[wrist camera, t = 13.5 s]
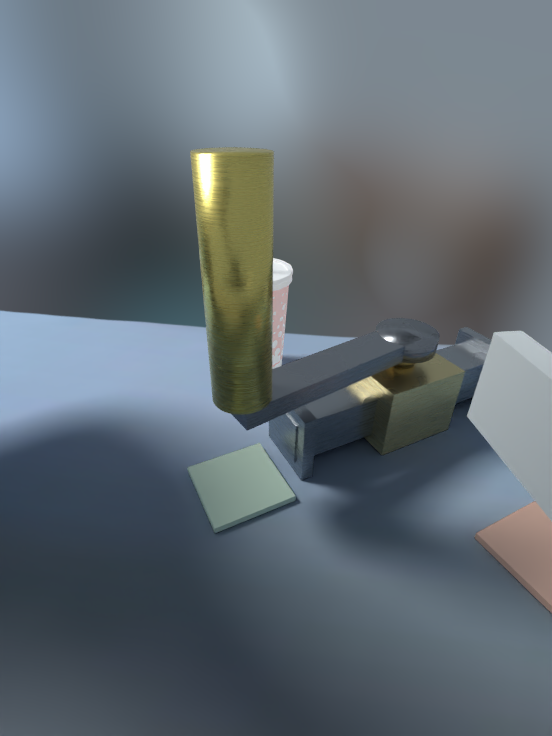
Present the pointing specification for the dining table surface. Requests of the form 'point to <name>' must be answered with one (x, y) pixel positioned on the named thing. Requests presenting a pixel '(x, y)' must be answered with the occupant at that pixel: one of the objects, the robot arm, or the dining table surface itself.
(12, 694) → the dining table surface
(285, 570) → the dining table surface
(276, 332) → the beverage cup
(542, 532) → the closed pad
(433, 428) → the valve
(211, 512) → the open pad
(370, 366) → the lever
